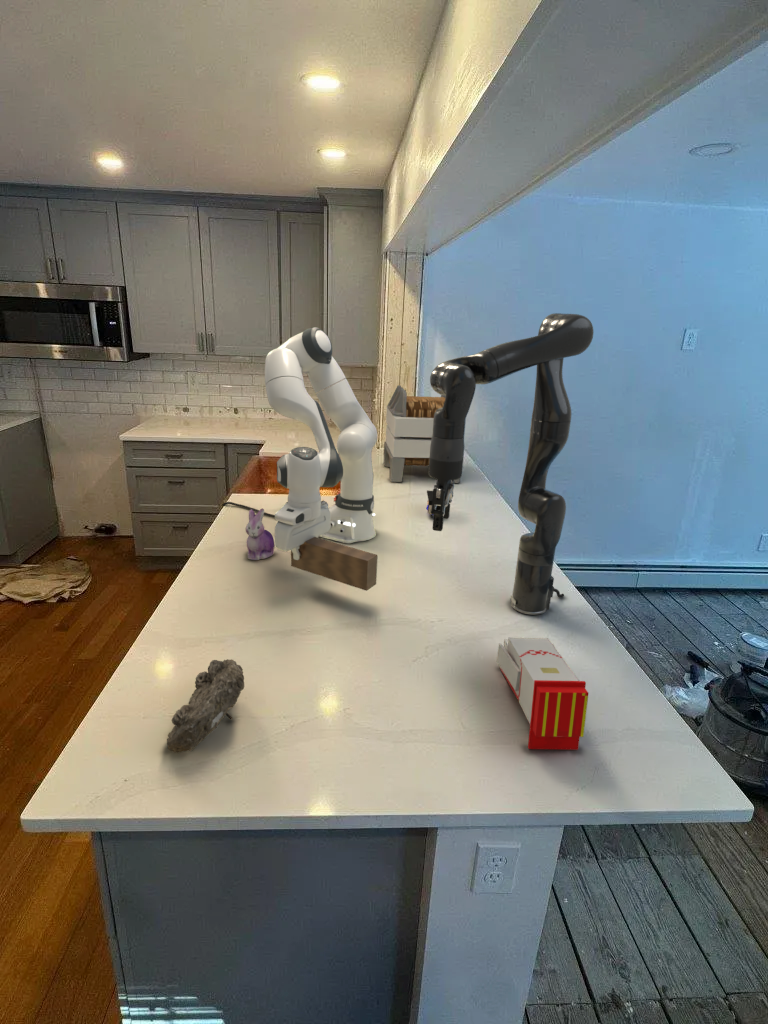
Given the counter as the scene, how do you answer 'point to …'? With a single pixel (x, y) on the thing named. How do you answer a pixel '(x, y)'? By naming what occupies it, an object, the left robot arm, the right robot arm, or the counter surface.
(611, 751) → the counter surface
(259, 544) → the figurine
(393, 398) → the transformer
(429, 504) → the figurine character
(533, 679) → the toy
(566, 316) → the right robot arm
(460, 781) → the counter surface
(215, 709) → the fossil
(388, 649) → the counter surface
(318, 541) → the bar
